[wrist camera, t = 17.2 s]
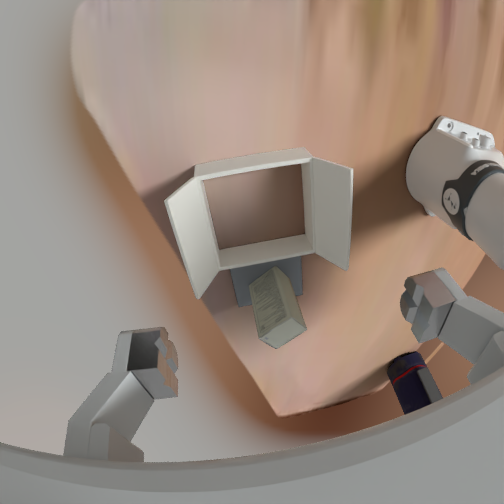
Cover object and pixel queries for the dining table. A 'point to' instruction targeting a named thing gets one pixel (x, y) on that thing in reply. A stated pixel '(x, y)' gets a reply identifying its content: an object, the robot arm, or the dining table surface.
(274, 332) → the skincare box
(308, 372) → the dining table surface
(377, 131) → the dining table surface
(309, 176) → the carton
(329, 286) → the dining table surface
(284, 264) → the mat
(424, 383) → the dark blue bottle
